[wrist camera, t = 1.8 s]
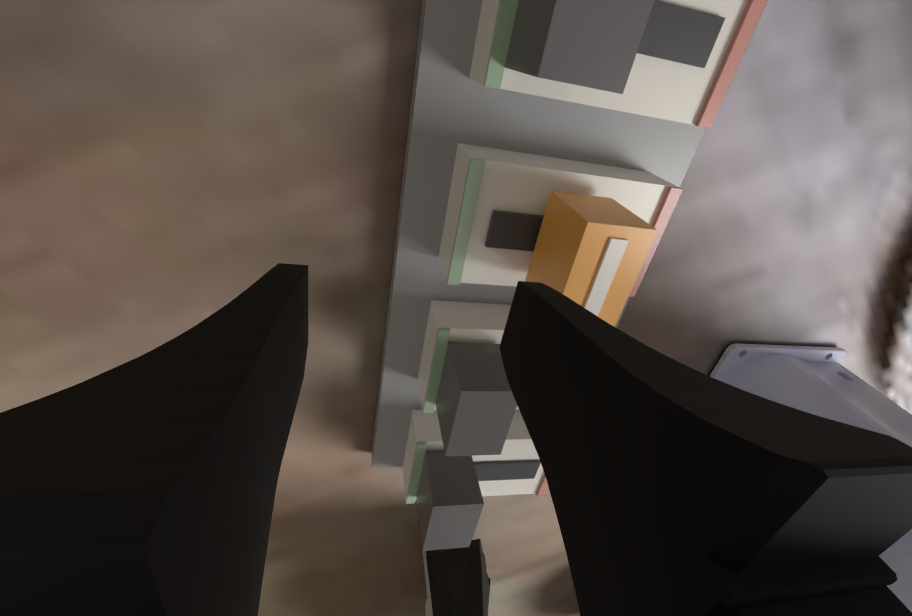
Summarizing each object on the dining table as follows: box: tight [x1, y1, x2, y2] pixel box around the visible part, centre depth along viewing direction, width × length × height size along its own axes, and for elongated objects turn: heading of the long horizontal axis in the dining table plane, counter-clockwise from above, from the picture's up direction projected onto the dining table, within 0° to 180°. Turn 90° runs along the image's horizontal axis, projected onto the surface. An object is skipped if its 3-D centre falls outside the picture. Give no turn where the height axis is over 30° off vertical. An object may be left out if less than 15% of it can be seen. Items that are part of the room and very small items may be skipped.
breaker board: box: [372, 0, 768, 551], centre depth 19 cm, size 12×26×7 cm, turn 170°
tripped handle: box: [525, 190, 657, 326], centre depth 15 cm, size 2×4×3 cm, turn 170°
